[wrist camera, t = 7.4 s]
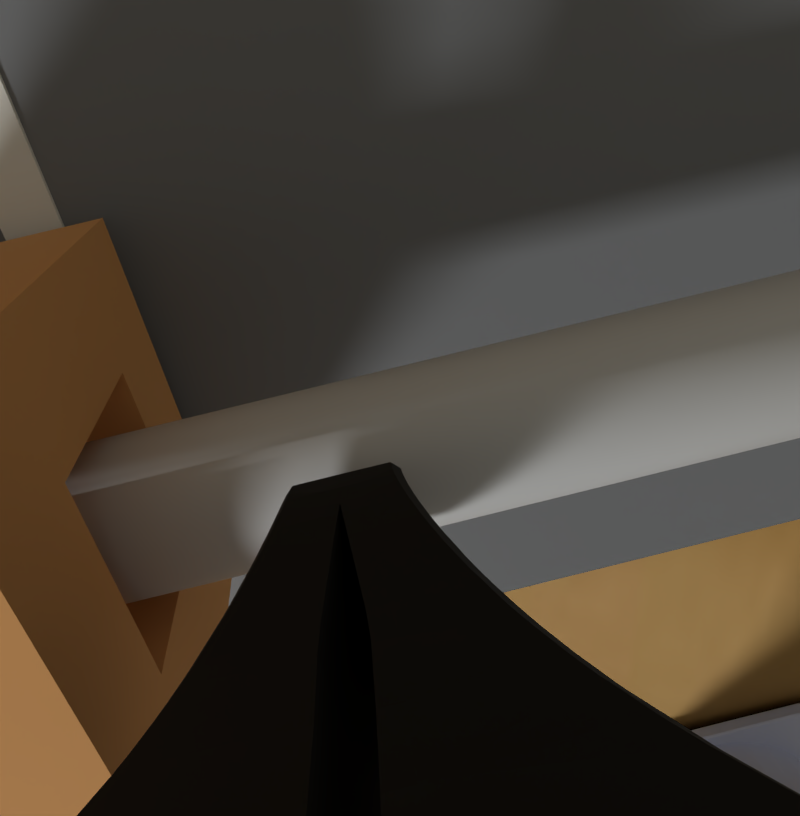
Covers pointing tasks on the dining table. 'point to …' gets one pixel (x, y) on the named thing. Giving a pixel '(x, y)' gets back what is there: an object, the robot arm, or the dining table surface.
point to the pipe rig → (430, 264)
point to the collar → (76, 528)
